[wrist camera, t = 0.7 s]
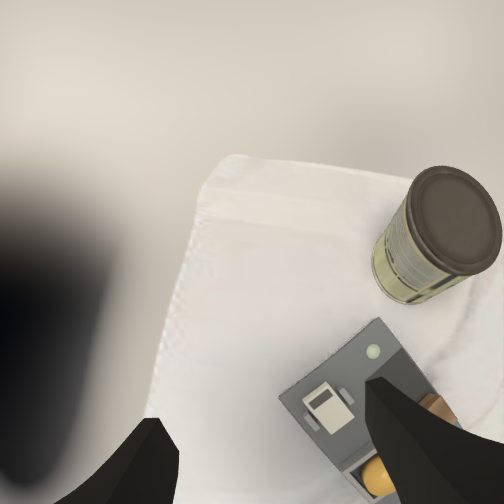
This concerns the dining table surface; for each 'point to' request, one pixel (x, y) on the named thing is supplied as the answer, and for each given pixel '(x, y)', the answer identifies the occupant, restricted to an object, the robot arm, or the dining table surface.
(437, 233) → the coffee can
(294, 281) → the dining table surface
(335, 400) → the rocker switch
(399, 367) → the panel
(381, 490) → the push button
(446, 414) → the block
